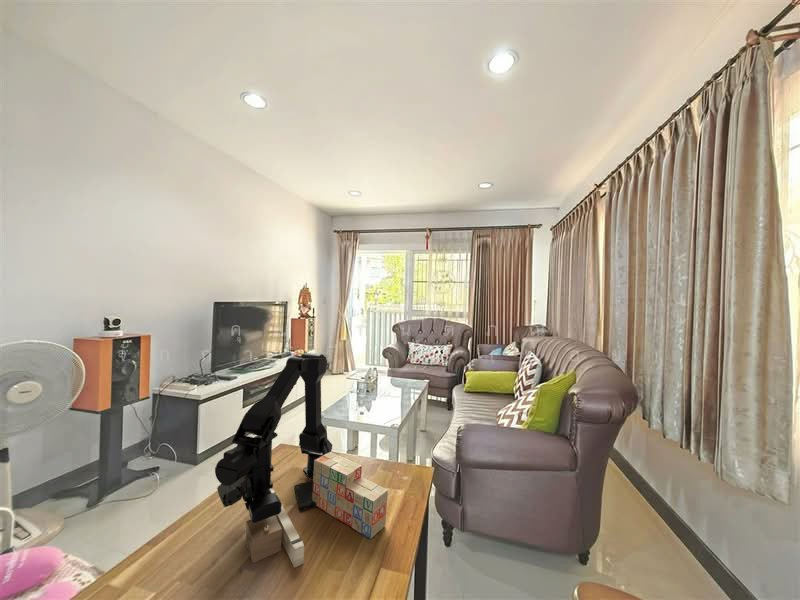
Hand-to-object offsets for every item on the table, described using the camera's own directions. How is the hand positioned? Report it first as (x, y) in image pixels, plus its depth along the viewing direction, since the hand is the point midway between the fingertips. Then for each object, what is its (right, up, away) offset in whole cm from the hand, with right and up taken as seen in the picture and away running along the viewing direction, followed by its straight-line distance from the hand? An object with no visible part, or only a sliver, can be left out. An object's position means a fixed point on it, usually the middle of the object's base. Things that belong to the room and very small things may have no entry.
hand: (256, 525), depth 77 cm
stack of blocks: (+21, -2, +7) cm, 22 cm away
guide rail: (+6, -2, +1) cm, 6 cm away
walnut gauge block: (+3, -2, -4) cm, 6 cm away
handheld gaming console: (+10, -2, +14) cm, 18 cm away
